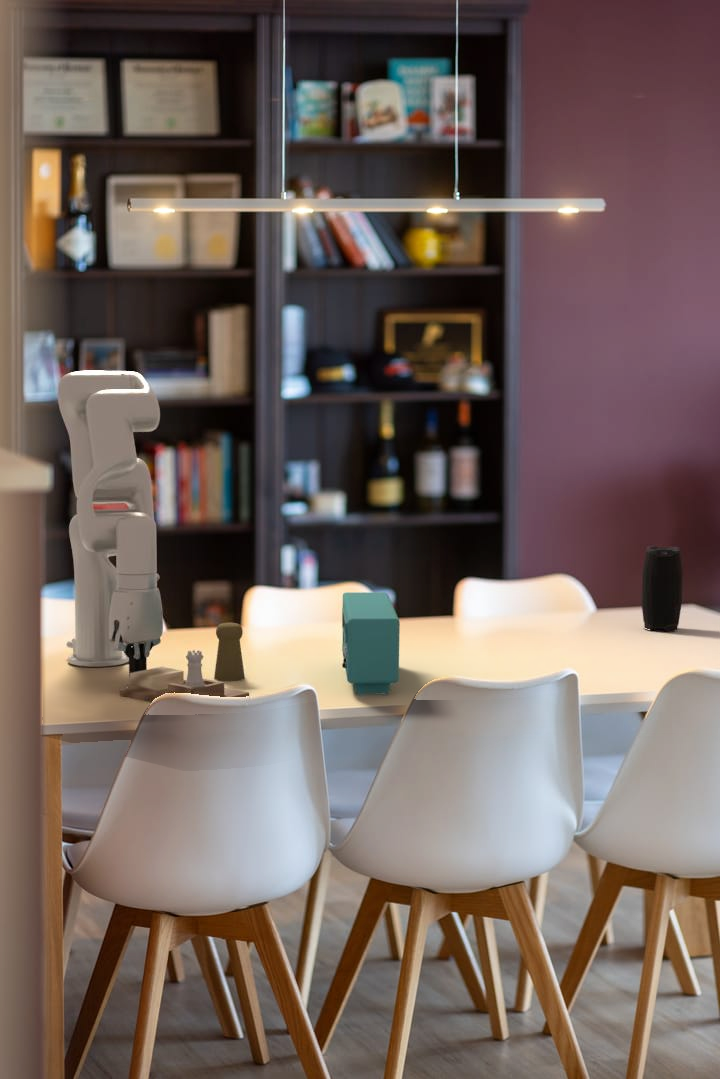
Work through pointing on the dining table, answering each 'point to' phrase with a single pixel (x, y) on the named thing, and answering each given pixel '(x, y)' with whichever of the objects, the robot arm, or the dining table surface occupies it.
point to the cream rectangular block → (157, 678)
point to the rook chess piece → (194, 669)
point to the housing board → (181, 691)
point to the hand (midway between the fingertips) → (137, 678)
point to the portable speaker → (662, 588)
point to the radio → (370, 642)
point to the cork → (229, 653)
